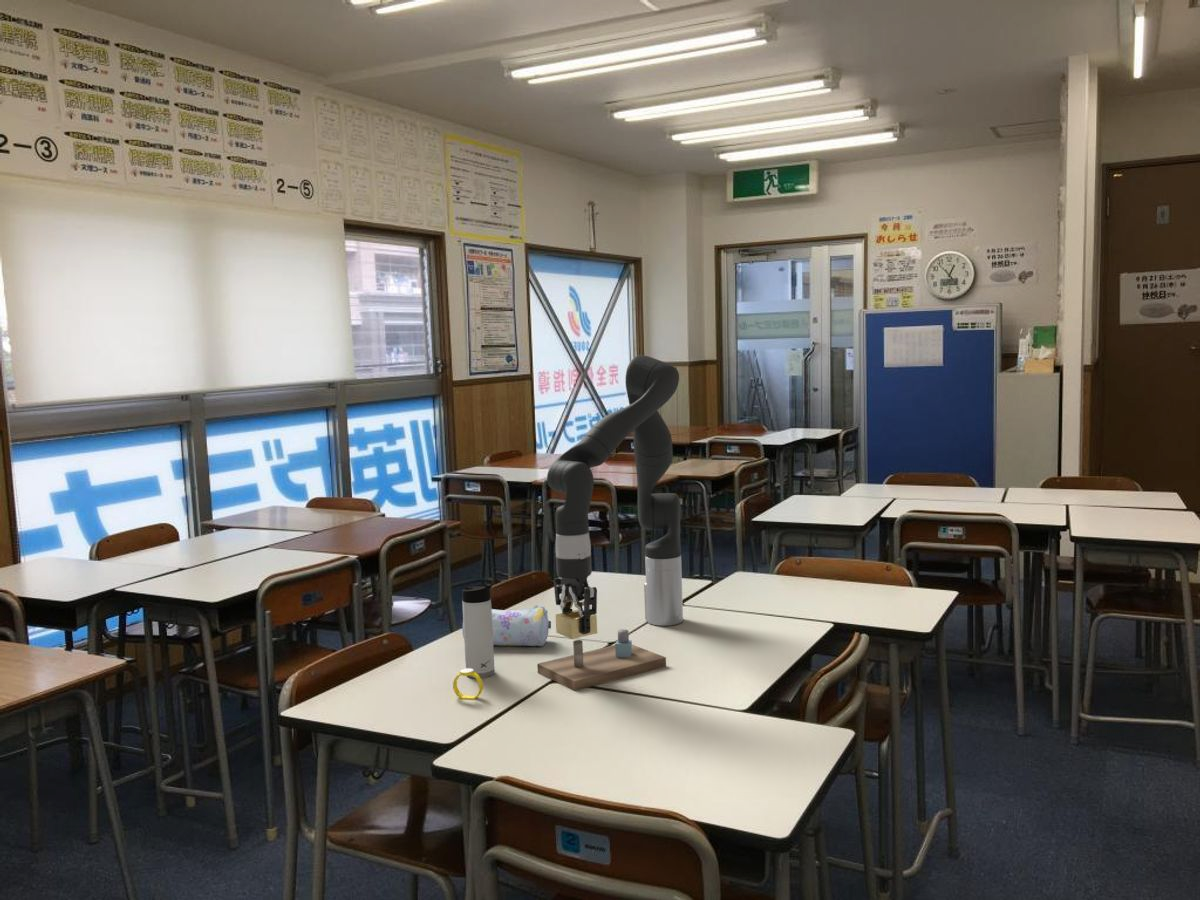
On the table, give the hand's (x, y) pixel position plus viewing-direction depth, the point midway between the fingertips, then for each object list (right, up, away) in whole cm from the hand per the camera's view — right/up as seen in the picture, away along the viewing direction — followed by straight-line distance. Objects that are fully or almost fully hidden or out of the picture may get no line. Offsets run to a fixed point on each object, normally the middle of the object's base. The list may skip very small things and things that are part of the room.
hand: (576, 629), depth 206 cm
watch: (-22, -12, -11) cm, 27 cm away
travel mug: (-21, -11, +4) cm, 24 cm away
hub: (+10, -7, +7) cm, 14 cm away
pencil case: (-17, -9, +26) cm, 32 cm away
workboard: (+6, -10, +4) cm, 12 cm away
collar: (0, -1, 0) cm, 1 cm away
